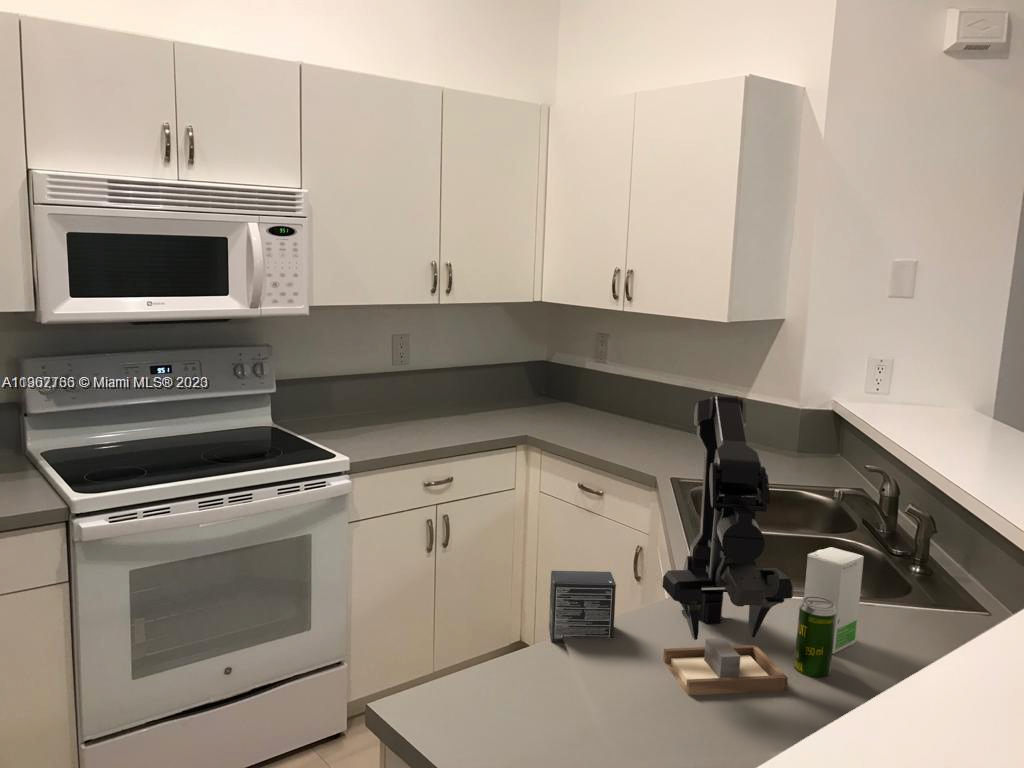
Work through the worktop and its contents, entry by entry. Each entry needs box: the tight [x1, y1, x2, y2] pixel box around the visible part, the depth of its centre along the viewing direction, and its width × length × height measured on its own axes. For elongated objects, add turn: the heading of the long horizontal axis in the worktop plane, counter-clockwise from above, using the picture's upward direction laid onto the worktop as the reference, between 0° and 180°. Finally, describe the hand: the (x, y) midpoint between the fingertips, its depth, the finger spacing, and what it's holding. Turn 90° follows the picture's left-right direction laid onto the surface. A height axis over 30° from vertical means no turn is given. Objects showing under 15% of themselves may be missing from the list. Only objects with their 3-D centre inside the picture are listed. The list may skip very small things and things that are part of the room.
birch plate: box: [671, 637, 769, 686], centre depth 129 cm, size 8×13×4 cm, turn 100°
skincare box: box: [803, 546, 865, 655], centre depth 143 cm, size 8×7×16 cm
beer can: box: [793, 596, 836, 679], centre depth 131 cm, size 5×5×12 cm
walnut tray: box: [662, 644, 789, 696], centre depth 129 cm, size 11×15×3 cm
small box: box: [548, 570, 617, 644], centre depth 142 cm, size 11×6×10 cm, turn 92°
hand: (723, 637), depth 128 cm, fingers open, 9 cm apart
